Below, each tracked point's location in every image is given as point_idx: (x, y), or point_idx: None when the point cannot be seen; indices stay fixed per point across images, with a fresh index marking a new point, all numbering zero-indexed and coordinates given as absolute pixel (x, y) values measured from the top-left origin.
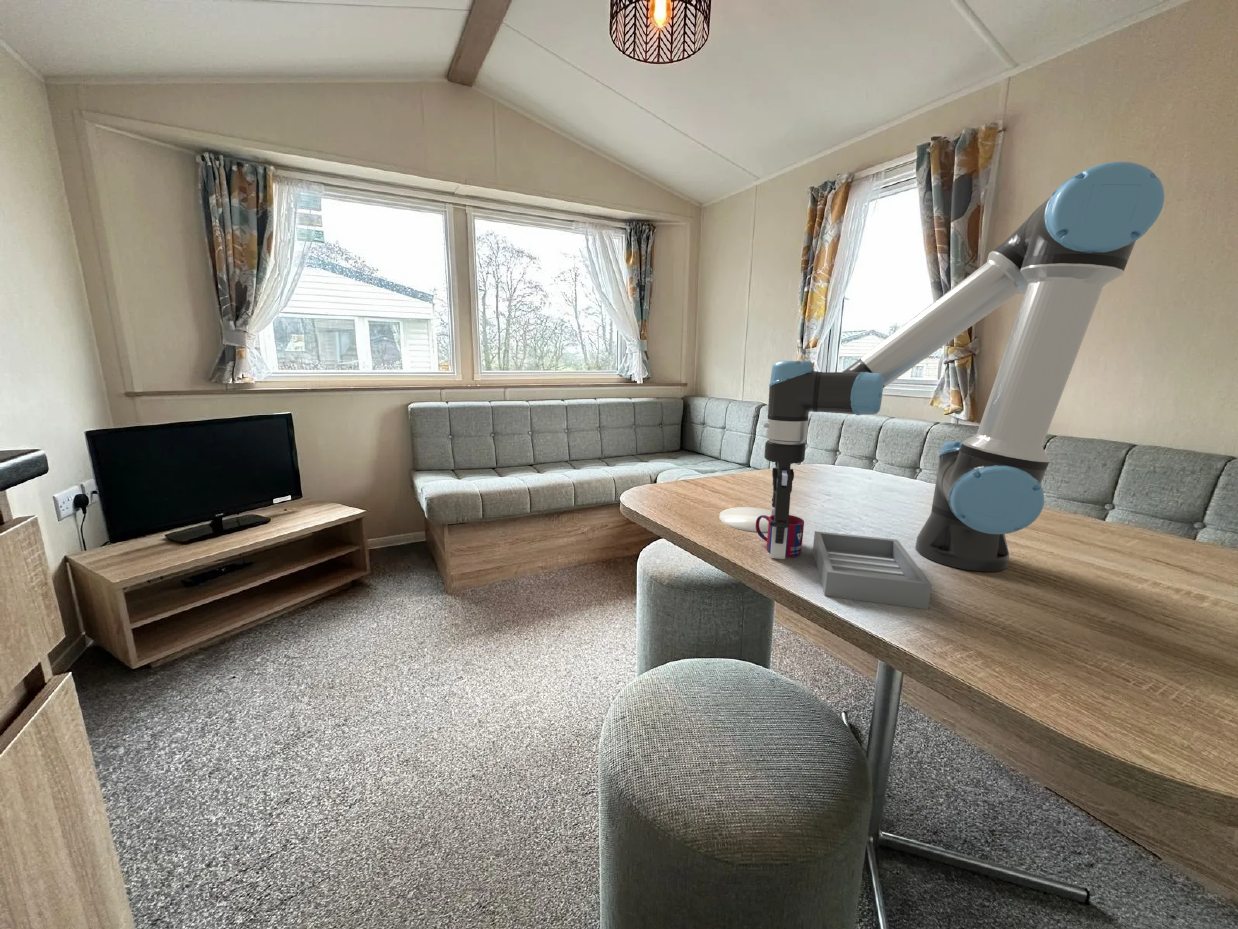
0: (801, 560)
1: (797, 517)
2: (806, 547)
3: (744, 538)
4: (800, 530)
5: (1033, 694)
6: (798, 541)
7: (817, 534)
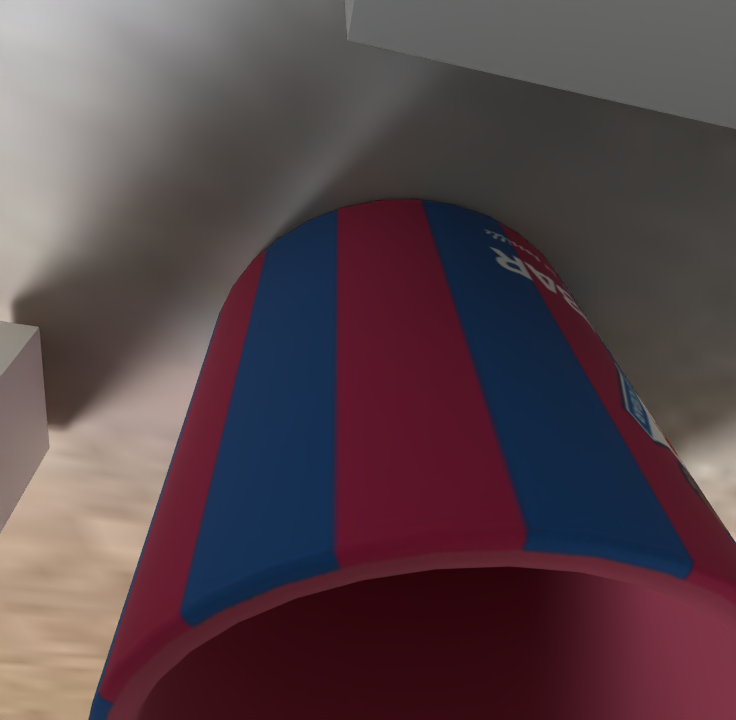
0: (656, 252)
1: (259, 611)
2: (214, 57)
3: (118, 607)
4: (710, 507)
5: None
6: (634, 390)
7: (584, 44)
